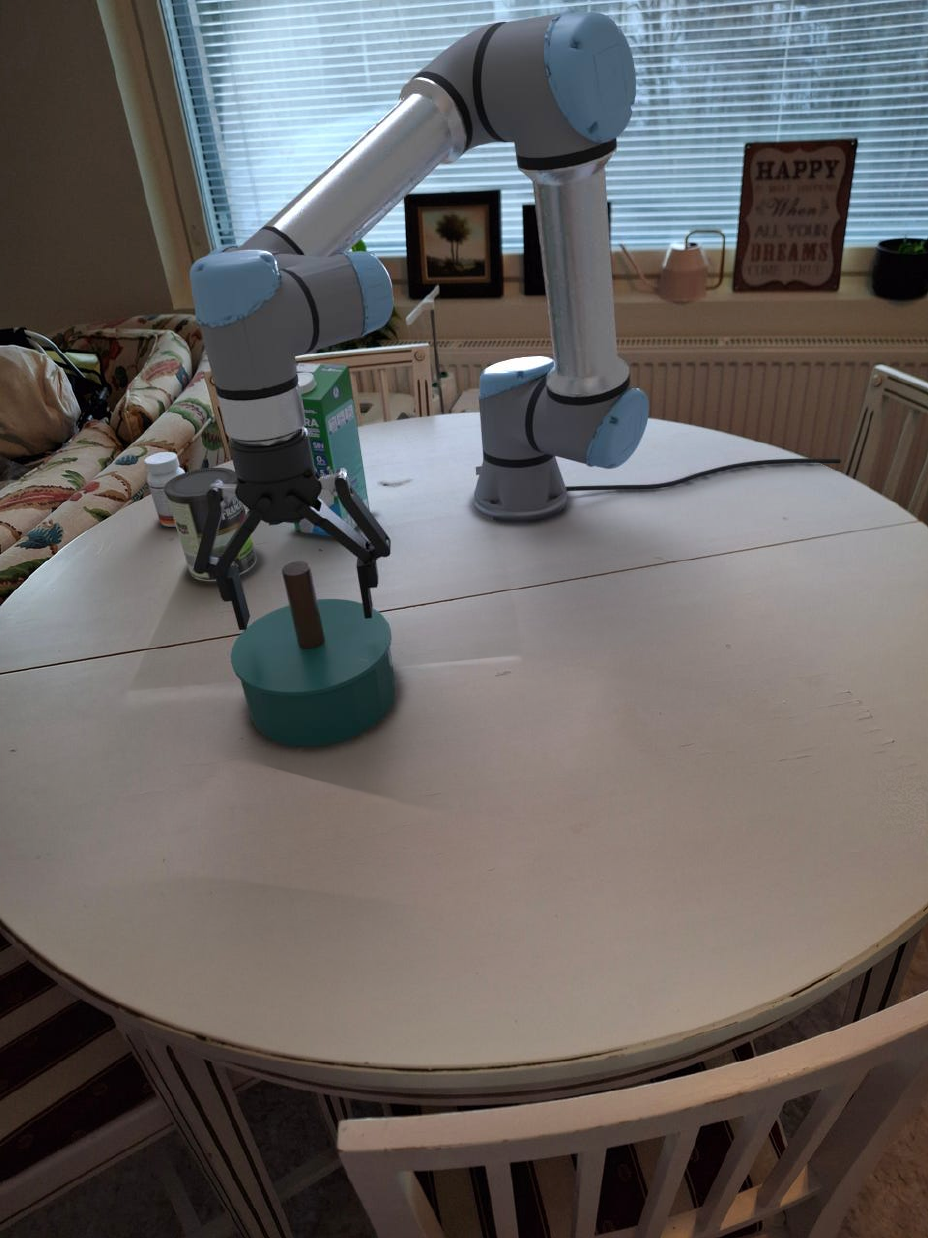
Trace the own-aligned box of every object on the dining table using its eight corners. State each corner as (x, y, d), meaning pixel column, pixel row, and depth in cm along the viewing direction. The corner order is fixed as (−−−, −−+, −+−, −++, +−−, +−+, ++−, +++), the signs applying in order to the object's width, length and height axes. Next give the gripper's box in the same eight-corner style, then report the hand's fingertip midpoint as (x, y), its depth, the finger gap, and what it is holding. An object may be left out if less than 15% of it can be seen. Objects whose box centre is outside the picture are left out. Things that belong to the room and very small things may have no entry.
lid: (393, 600, 98) (382, 522, 92) (391, 692, 83) (378, 606, 77) (247, 614, 97) (226, 536, 91) (219, 708, 83) (192, 622, 77)
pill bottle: (193, 508, 140) (176, 447, 134) (200, 522, 135) (183, 459, 129) (157, 517, 138) (138, 455, 132) (163, 531, 133) (143, 468, 127)
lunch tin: (395, 649, 101) (388, 599, 97) (394, 739, 87) (386, 685, 83) (262, 661, 101) (249, 611, 97) (240, 753, 87) (223, 700, 83)
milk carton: (295, 533, 130) (263, 379, 116) (324, 509, 136) (297, 361, 122) (344, 540, 126) (317, 383, 112) (371, 515, 133) (348, 364, 119)
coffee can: (268, 551, 125) (249, 467, 117) (240, 586, 117) (217, 497, 109) (208, 548, 127) (185, 465, 119) (176, 582, 119) (149, 495, 111)
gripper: (398, 406, 79) (419, 589, 91) (145, 428, 79) (200, 609, 91) (398, 434, 73) (421, 626, 85) (123, 458, 73) (185, 647, 84)
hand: (307, 617), depth 88 cm, fingers open, 13 cm apart
